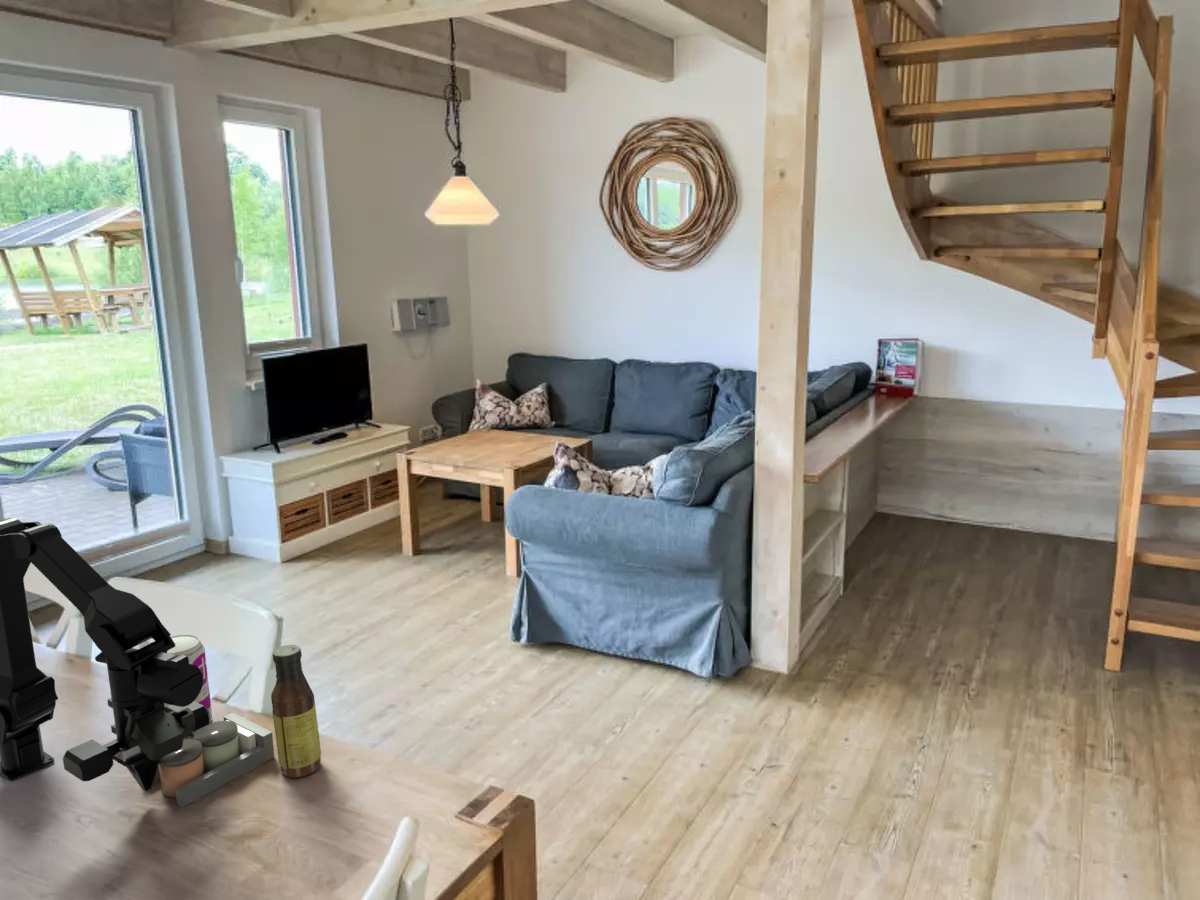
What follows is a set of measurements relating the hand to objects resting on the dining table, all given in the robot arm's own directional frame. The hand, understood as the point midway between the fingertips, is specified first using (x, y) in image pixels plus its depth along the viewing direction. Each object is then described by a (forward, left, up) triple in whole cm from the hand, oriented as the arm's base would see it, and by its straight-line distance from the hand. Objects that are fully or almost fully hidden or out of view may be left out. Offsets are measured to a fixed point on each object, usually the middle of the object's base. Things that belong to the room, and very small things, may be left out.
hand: (146, 789), depth 132 cm
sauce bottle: (+11, +18, -2) cm, 21 cm away
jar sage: (0, +12, -2) cm, 12 cm away
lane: (0, +9, -2) cm, 9 cm away
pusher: (0, +15, -2) cm, 15 cm away
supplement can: (-15, +15, -2) cm, 21 cm away
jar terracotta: (0, +5, -2) cm, 6 cm away
